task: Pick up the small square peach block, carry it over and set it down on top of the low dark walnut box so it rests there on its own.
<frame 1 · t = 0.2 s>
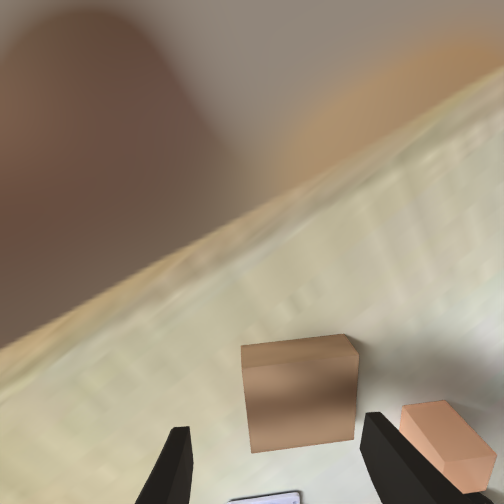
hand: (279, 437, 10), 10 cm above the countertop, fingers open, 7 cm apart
walnut box: (293, 377, 22), on the countertop
peach block: (420, 418, 24), on the countertop
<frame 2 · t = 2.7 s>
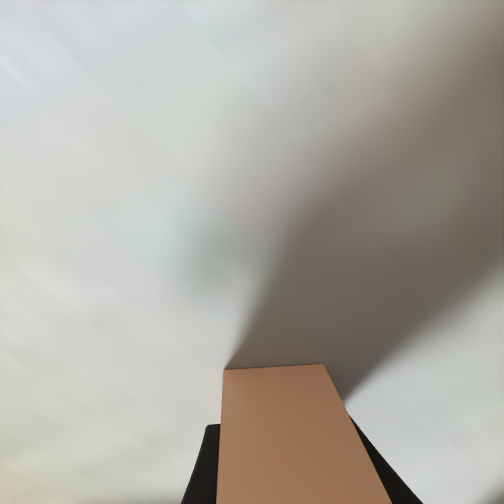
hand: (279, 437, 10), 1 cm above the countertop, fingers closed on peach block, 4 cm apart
peach block: (273, 405, 11), on the countertop, touching gripper
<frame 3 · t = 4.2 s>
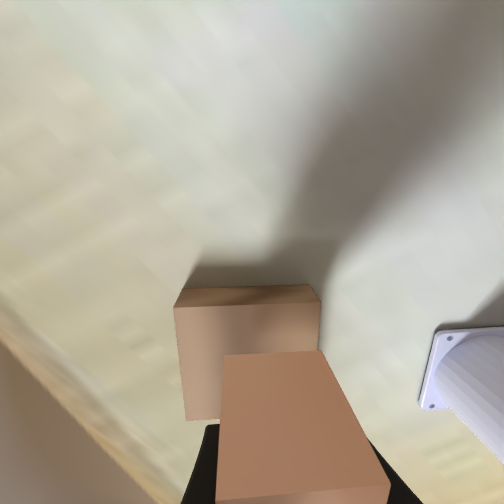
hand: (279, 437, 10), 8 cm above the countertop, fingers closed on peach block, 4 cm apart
walnut box: (247, 336, 18), on the countertop
peach block: (272, 391, 11), point 7 cm above the countertop, touching gripper
when the fingers open (5 cm above the countertop, at t = 5.7 s): peach block stays where it is, point 3 cm above the countertop.
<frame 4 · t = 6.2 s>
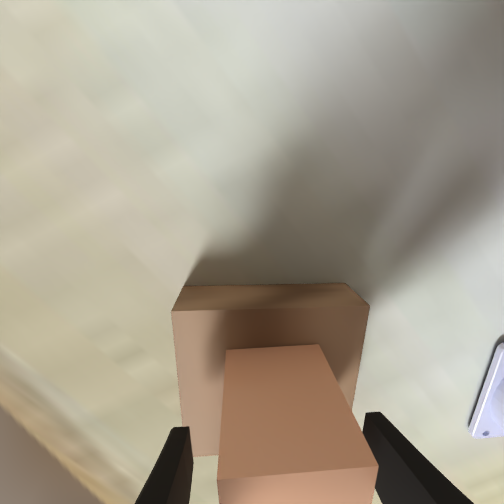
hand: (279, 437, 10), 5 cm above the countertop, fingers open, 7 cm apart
walnut box: (263, 347, 15), on the countertop
peach block: (272, 383, 12), point 3 cm above the countertop
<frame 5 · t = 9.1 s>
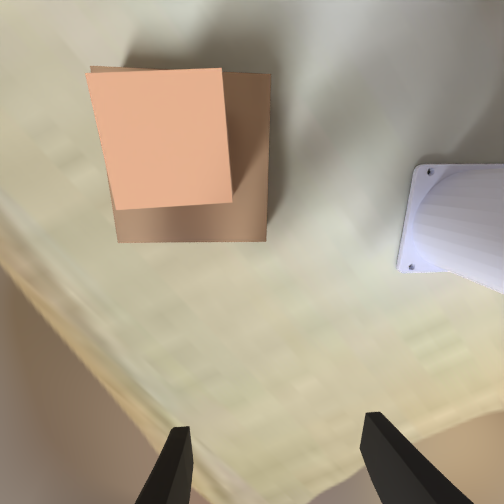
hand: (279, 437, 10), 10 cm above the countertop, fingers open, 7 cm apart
walnut box: (196, 167, 16), on the countertop, touching peach block
peach block: (190, 157, 13), point 2 cm above the countertop, touching walnut box
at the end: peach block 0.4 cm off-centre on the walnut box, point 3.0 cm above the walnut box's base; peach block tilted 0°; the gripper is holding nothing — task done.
